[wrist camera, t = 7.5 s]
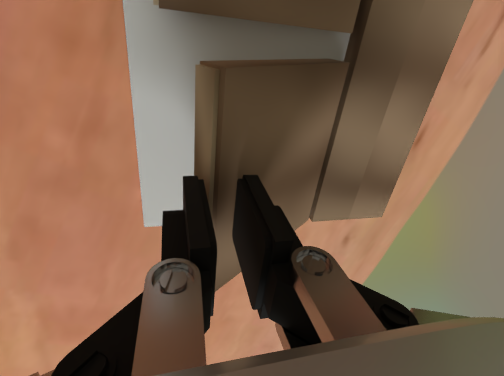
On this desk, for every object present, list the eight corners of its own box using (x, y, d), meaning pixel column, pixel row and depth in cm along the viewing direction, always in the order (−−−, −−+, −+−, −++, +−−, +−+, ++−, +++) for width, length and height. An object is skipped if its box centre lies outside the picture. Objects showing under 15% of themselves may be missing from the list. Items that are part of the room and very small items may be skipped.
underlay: (75, -515, 7) (71, -533, 7) (548, -253, 12) (556, -259, 11) (144, 224, 19) (144, 226, 18) (368, 210, 23) (370, 213, 23)
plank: (194, 60, 9) (220, 67, 9) (329, 58, 16) (349, 62, 15) (191, 282, 14) (208, 296, 14) (293, 212, 21) (307, 220, 20)
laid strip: (434, -299, 10) (464, -333, 9) (548, -239, 12) (583, -261, 11) (305, 211, 21) (312, 221, 20) (372, 207, 23) (381, 216, 22)
